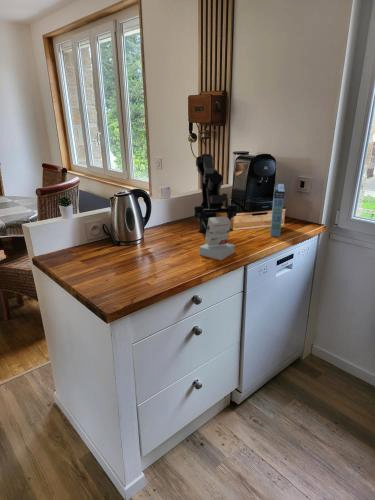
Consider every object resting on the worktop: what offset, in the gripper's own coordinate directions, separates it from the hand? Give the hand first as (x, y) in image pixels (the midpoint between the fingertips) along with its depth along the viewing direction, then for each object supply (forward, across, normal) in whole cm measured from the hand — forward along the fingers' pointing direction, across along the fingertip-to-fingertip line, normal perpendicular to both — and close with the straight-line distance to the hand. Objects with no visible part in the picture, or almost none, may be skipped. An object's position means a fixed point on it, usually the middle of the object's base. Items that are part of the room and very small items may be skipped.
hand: (217, 228), depth 143 cm
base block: (+8, 0, +9) cm, 12 cm away
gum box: (-11, +36, +29) cm, 47 cm away
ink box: (+4, 0, +6) cm, 7 cm away
